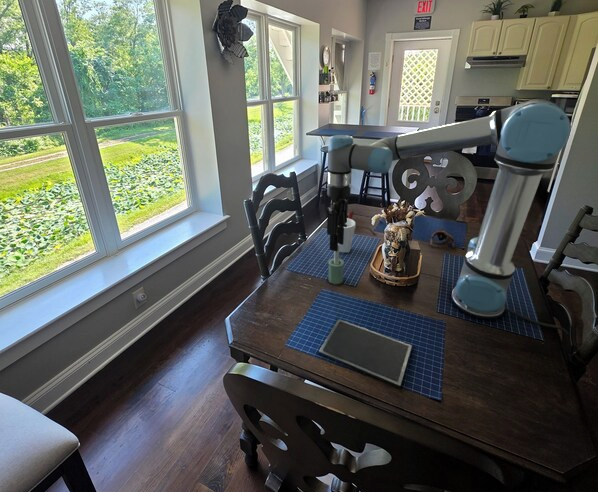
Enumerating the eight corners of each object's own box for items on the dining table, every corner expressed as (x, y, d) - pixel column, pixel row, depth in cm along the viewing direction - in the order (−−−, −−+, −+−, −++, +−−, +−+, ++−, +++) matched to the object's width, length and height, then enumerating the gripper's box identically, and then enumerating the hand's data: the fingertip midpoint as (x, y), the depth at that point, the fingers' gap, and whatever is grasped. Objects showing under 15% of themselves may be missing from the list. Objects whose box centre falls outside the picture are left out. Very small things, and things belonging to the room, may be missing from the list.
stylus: (338, 278, 119) (340, 243, 113) (337, 281, 117) (338, 245, 111) (334, 277, 120) (335, 242, 114) (332, 280, 118) (333, 244, 112)
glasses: (351, 217, 169) (351, 208, 167) (382, 223, 162) (383, 214, 160) (341, 228, 158) (342, 219, 156) (374, 235, 151) (375, 225, 149)
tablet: (411, 348, 89) (412, 344, 89) (400, 388, 78) (400, 385, 78) (338, 321, 99) (338, 318, 99) (318, 353, 88) (318, 350, 88)
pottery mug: (459, 253, 136) (454, 240, 131) (436, 259, 139) (431, 247, 135) (450, 233, 145) (445, 221, 141) (429, 240, 148) (424, 228, 144)
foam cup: (357, 247, 140) (358, 221, 135) (348, 257, 133) (349, 229, 128) (337, 242, 145) (338, 216, 140) (328, 251, 138) (328, 224, 133)
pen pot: (345, 278, 120) (346, 260, 116) (339, 286, 115) (340, 267, 112) (331, 274, 122) (332, 256, 119) (325, 282, 118) (326, 263, 115)
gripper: (338, 175, 113) (336, 233, 122) (316, 190, 98) (316, 255, 108) (359, 178, 109) (355, 238, 118) (339, 194, 95) (336, 261, 104)
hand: (336, 246), depth 113 cm, fingers open, 5 cm apart
